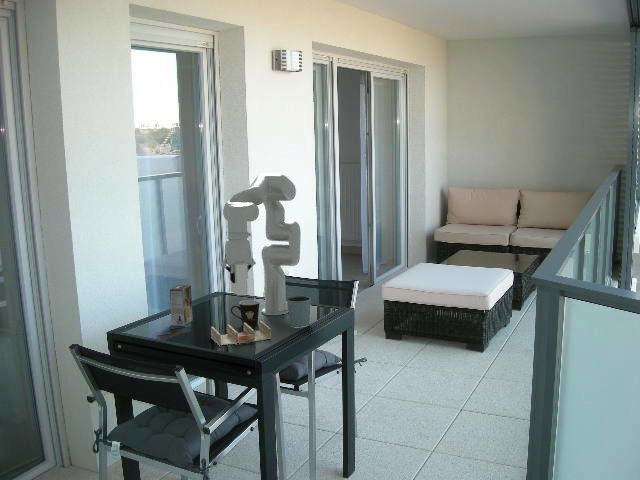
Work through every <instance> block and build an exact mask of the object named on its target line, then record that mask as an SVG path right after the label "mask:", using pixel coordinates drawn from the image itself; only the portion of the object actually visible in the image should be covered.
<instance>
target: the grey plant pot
mask: <svg viewBox="0 0 640 480" xmlns="http://www.w3.org/2000/svg"><path fill="white" fill-rule="evenodd" d="M286 302H287V304H288V311H289V313H288V322H289V327H290V326H293V327H301V326H306V325H309V324H310V325H311V323H310V322H311V317H310V315H311V304H312V303H311V302H312V298H311V297H310V296H307V295H293V296H289V297H288V298H286ZM310 325H309V326H310Z"/></svg>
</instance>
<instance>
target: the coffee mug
mask: <svg viewBox="0 0 640 480" xmlns="http://www.w3.org/2000/svg"><path fill="white" fill-rule="evenodd" d="M238 305H239V306H238ZM238 305H233V306H232V307H230V312H231V314H232V315H233V316H234V317H235V318H238V319H240V320H241V321H242V327H244V325H243V323H246V324H247V325H249V326H250V327H251V328H254V326H255V327H257V326H258V324H259V312H260V301H259V300H254V299H253V300H252V299H248V300H240V301H239V304H238ZM234 308H238V310H239V311H240V316H238V315H237V314H235V313H234V312H233V309H234ZM256 325H257V326H256Z"/></svg>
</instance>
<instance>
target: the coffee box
mask: <svg viewBox="0 0 640 480" xmlns="http://www.w3.org/2000/svg"><path fill="white" fill-rule="evenodd" d="M169 298H170V299H169V301H170V322H171V326H176V327H177V326H179V327H184V326H187V325H188V324H190V323H191V322H193V301H192V285H186V284H185V285H184V284H183V285H182V284H181V285H180V284H179V285H176V286H173V287H172V288H170V289H169Z"/></svg>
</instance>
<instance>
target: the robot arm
mask: <svg viewBox="0 0 640 480" xmlns="http://www.w3.org/2000/svg"><path fill="white" fill-rule="evenodd" d="M296 188H297V187H296V185H295V184H294V182H293V181H292V180H291V179H290V178H288V176H286V175H284V174H281V173H261V174H259V175H257V176H256V178H255V179H254V180H253V181H252V183H251V184H250V186H249V187H247V188H246V189H242V191H239V192H237V193H235V194H233V195H232V196H230V197H229V198H228V199H227V201H226V202H225V204H224V206H223V209H222V215H223V217H224V219H225V220H226V221H227V239H225V244H224V245H225V246H224V259H223V260H222V262H221V264H220V266H221V267H222V268H223V269H225V270H227V271H228V272H229V281H230V283H231V282H232V283H235V273H234V266H235V264H239V263H246V264H247V280H248V279H249V277H248V276H249V275H248V272H249V270H250V269H251V268H253V266H255V265H256V261H255V259H254V258H253V257H252V248H251V243H250V239H249V237H251V236H252V235H251V234H252V233H251V232H248V223H249V222H254V221H256V220H257V219H258V218H259V215H260V209H259V207H258V206H259V205H262V204H263V205H264V208H265V238H266V239H267V241H271V242H285V243H286V242H288V244H282V243H281V244H277V243H275V244H273V243H272V244H267V245H264V247H263V248H262V249H261V259H262V265H263V276H264V278H263V281H264V284H263V285H264V308H263V309H261V313H262V314H263V315H266V316H282V314H284V315H286V313H287V314H289V313H288V312H289V311H288V304H287V298H286V274H285V271H284V269H283V268H282V266H283V267H294V266H297V265H298V264H299V263H300V260H301V235H302V234H301V232H302V231H301V227H300V224H299V222H297V221H295V220H286V219H285V213H286V211H285V208H284V205H283V204H282V202H290V201H293V200H294V199H295V197H296V194H297V189H296Z"/></svg>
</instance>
